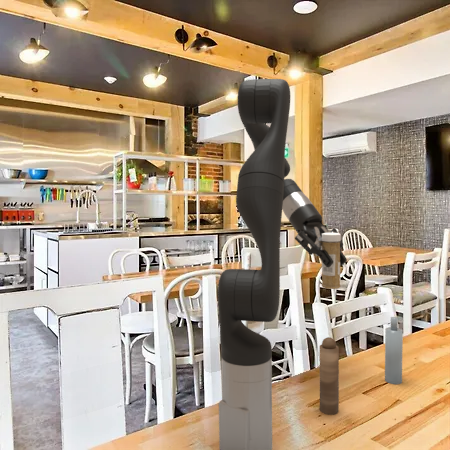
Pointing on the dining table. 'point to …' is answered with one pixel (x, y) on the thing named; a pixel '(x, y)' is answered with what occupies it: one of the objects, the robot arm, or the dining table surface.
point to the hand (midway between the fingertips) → (337, 263)
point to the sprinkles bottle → (333, 249)
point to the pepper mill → (329, 377)
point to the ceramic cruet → (393, 352)
